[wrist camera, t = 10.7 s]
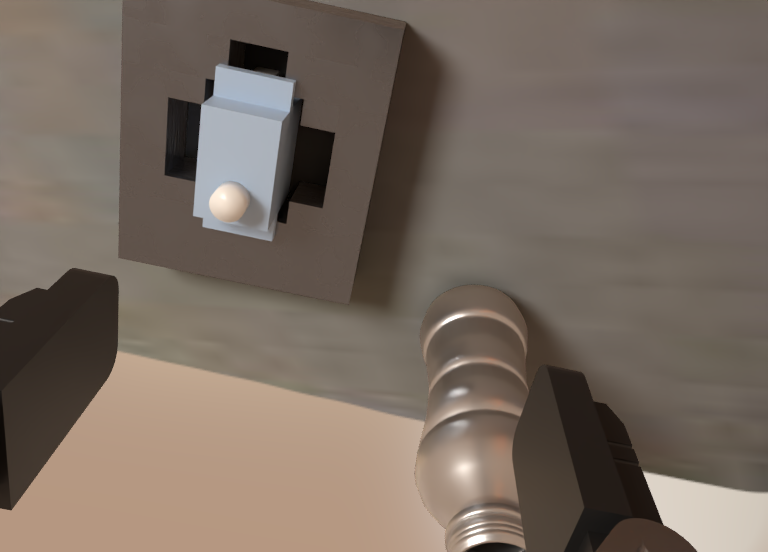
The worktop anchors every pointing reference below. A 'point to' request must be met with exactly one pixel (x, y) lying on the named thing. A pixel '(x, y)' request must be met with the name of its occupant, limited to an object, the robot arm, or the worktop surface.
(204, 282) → the worktop surface
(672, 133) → the worktop surface
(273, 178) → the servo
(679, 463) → the worktop surface
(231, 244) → the block with stepped hole
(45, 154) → the worktop surface
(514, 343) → the plastic bottle
